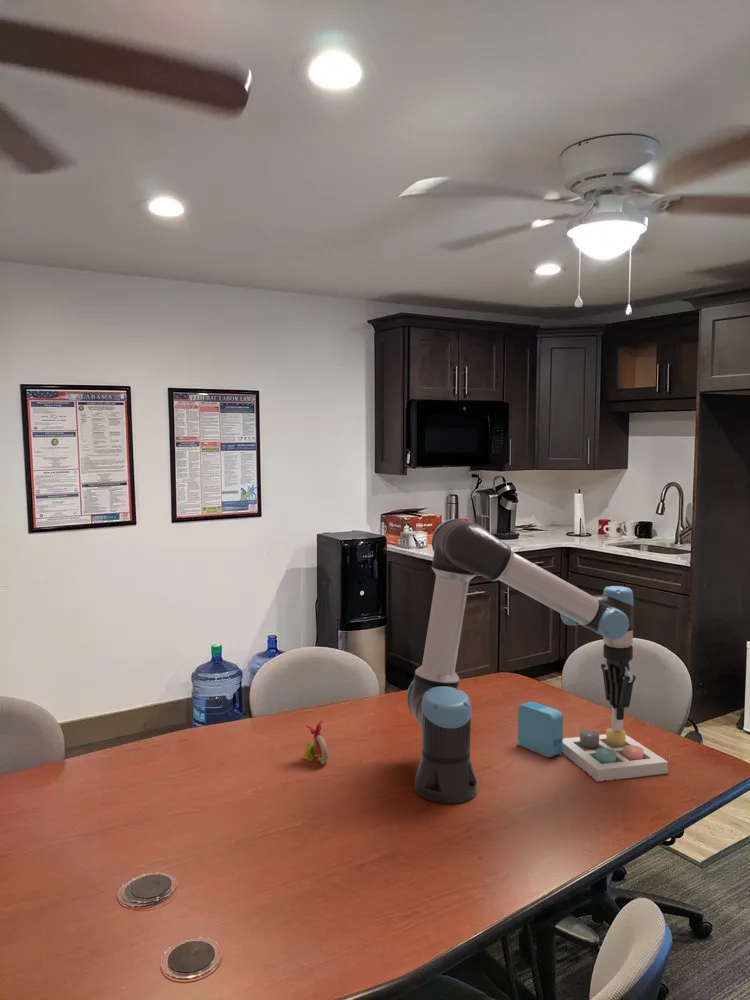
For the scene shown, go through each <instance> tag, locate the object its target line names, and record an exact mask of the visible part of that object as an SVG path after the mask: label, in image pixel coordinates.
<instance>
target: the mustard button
mask: <svg viewBox="0 0 750 1000" xmlns="http://www.w3.org/2000/svg"><path fill="white" fill-rule="evenodd" d="M605 734H606V743H607V744H609V745H612V746H624V745H625V743H626V735H627V733H626V730H624V729H623V730H622V731H613V730H611V727H609V728H606V730H605Z"/></svg>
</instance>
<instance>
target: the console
mask: <svg viewBox="0 0 750 1000" xmlns="http://www.w3.org/2000/svg"><path fill="white" fill-rule="evenodd" d="M626 745H634V746H638V747H641V748H642V749H643V750H644V753H643V759H642V760H633V761H629V760H628V759H626V758H625V757H623V747H624V746H626ZM624 746H612V745H609V744H607V743H606V733H605V734H599V748H608V749H612V750H614V751H615V752H616V762H615V763H606V764H601V763H600V762H598V761H597V760H596V749H586V748H583V747H581V746H580V736H577V737H575V736H574V737H564V738H563V742H562V752H563V753H564V754H565V755H566V756H568V757H569V758H570V759H571V760H572V761H574V762H575V763H576V764H577V765H579V766H580V767H581V768H582V769H583V770H582V769H581V768H580V767H579V766H578V767H579V768H580V769H581V770H582V771H584V772H585V771H586V772H587V773H588V774H587V773H586V772H585V773H586V774H587V775H588V776H590V775H591V776H592V777H593V778H592V777H591V776H590V777H591V778H592V779H593V780H594V781H596V780H597V781H599V782H604V780H607V781H614V779H616V780H622V779H631V778H638V777H639V778H640V777H648V776H656V775H664V774H669V773H668V771H669V770H668V769H669V767H668V766H669V762H668V761H667V760H666V759H664V758H663V757H662V756H660V755H658V754H656V753H655V752H654V751H652V750H650V749H649V748H647V747H646V746H644V745H643V744H641V743H639V742H638V741H636V740H634V739H633V738H632V737H630V736H629V735H627V734H626V743H625V745H624ZM599 748H597V749H599ZM586 750H594V751H586ZM563 753H562V754H563ZM564 754H563V755H564ZM565 755H564V756H565ZM566 756H565V757H566ZM568 757H567V758H568ZM569 758H568V759H569ZM570 759H569V760H570ZM571 760H570V761H571ZM572 761H571V762H572ZM574 762H573V763H574ZM575 763H574V764H575ZM576 764H575V765H576ZM577 765H576V766H577ZM597 781H596V782H597Z"/></svg>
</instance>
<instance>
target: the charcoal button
mask: <svg viewBox="0 0 750 1000" xmlns="http://www.w3.org/2000/svg"><path fill="white" fill-rule="evenodd" d="M599 735H600V734H599V732H597V731H594V730H586V729H585V730H581V731H580V732H579V737H580V746H581V747H583V748H586V749H597V748H599Z"/></svg>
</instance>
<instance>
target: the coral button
mask: <svg viewBox="0 0 750 1000" xmlns="http://www.w3.org/2000/svg"><path fill="white" fill-rule="evenodd" d="M643 753H644V750H643V749H642V748H641V747H638V746H634V745H626V746H624V747H623V757H625V758H626V759H628V760H629V761H633V760H642V759H643Z"/></svg>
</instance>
